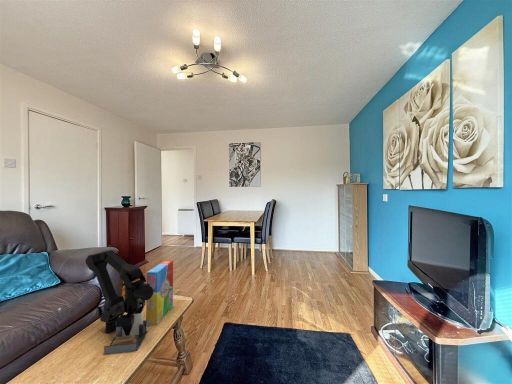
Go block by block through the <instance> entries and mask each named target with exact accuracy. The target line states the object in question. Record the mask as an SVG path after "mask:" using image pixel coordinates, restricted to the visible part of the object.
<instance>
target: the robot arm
mask: <svg viewBox="0 0 512 384" xmlns="http://www.w3.org/2000/svg"><path fill="white" fill-rule="evenodd" d="M85 264H86V266H87V268H88V269H89V271H91V272H93V273H94V274H95V276H96V280H97V282H98V285H99V288H100V290H101V293H102V295H103V298H104V303H103V312H102V314H101V315H100V316H99V321H100V322H101V323H105V324H104V325H105V328H104V329H105V330H104V331H105V334H113V333H114V332H116V327H117V326H119V327H120V326H121V327H122V328H123V330H124V333H125V335H126V336H129V335H130V332H131V329H132V326H133V324H134V314H141V313H142V312H143V310H144V309H145V306H146V301H147V300H149V299H150V298H151V297H152V295H153V292H154V290H153V288H152V287H150V284H148V283H147V278H146V277H145V275H144V273H143V271H142V269H141V268H140V267H138V266H137V265H135V264H129V263H127V261H125V260H124V259H122V257H120V256H119V255H118V254H116V252H115V251H114V249H113V250H112V249H108V250H104V251H101V252H97V253H92V254H89V255H87V256H86V258H85ZM108 265H109V266H110V267H112V268H113V269H114V270H115V271H117V272H118V274H119V278H120V279H121V281H123V283H121V287H124V295H118V294H117V292H116V288H115V287H114V284H113V281H112V279H111V276H110V273H109V271H108V269H107V268H108Z"/></svg>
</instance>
